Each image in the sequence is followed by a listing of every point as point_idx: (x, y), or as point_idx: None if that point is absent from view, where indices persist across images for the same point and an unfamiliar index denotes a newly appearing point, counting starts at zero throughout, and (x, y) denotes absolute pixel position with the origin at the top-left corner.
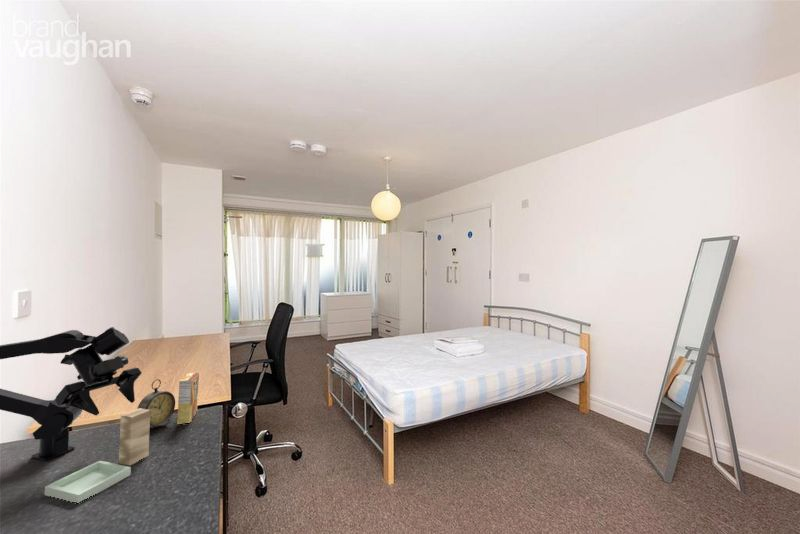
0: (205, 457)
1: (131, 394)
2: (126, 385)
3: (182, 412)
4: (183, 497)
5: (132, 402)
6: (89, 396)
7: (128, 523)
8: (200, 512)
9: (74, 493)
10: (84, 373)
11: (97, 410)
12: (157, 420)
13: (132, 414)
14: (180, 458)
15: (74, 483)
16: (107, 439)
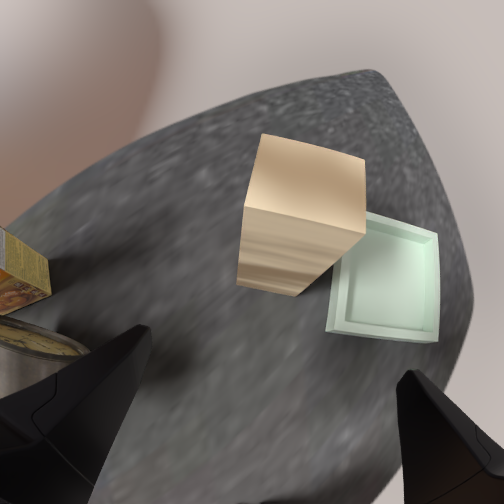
0: (242, 111)
1: (115, 361)
2: (45, 469)
3: (26, 266)
4: (357, 99)
5: (148, 342)
6: (491, 467)
7: (416, 137)
8: (369, 78)
9: (437, 247)
10: None
11: (423, 379)
12: (56, 345)
13: (338, 178)
14: (251, 151)
15: (396, 315)
16: (155, 466)
